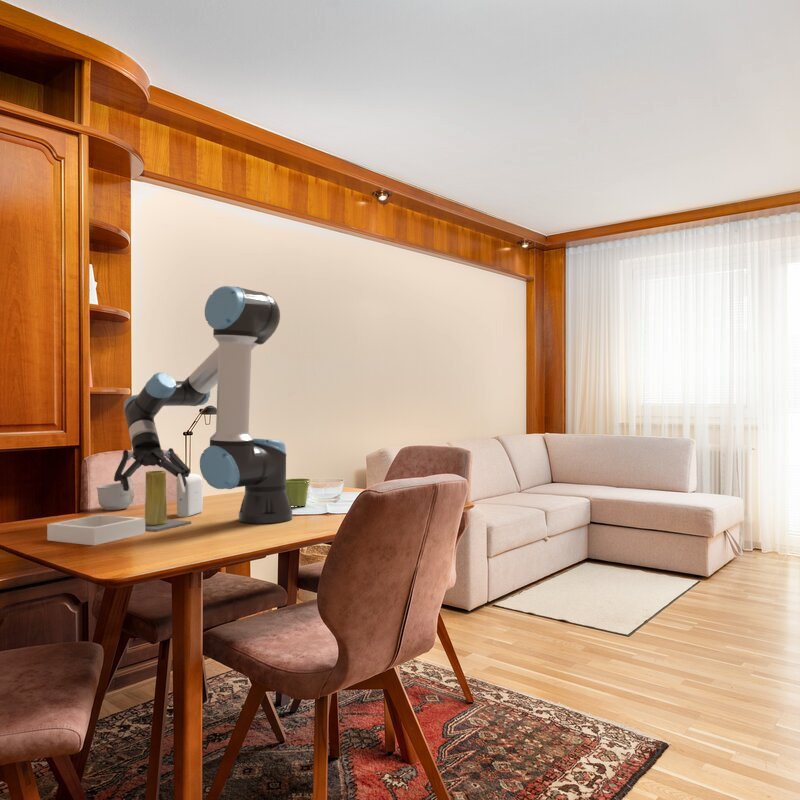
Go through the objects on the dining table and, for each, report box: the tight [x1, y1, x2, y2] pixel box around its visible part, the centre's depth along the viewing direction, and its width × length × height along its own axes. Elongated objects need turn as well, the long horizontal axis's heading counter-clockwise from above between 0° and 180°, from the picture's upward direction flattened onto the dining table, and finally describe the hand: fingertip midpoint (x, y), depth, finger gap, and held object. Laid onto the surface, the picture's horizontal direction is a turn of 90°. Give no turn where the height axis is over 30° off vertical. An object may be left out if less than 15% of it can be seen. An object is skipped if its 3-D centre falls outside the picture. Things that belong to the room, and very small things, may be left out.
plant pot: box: [286, 478, 311, 507], centre depth 222 cm, size 9×9×9 cm
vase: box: [144, 470, 168, 525], centre depth 188 cm, size 6×6×14 cm
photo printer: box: [176, 473, 204, 518], centre depth 207 cm, size 10×4×12 cm, turn 168°
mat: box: [145, 518, 192, 532], centre depth 188 cm, size 13×13×1 cm
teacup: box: [96, 482, 134, 511], centre depth 221 cm, size 14×11×8 cm
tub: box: [46, 514, 146, 546], centre depth 172 cm, size 16×16×4 cm
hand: (158, 496), depth 186 cm, fingers open, 13 cm apart
